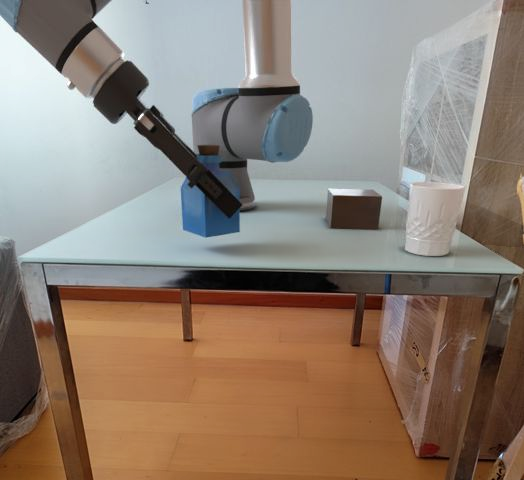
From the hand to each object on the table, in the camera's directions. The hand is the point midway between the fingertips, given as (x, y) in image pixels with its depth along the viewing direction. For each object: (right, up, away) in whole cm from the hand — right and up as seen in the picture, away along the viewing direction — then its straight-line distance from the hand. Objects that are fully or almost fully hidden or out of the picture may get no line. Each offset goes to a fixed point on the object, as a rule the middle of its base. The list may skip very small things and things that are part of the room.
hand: (232, 205), depth 71 cm
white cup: (+31, -6, +4) cm, 31 cm away
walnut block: (+22, +3, +22) cm, 31 cm away
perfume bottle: (-3, -4, +1) cm, 5 cm away
